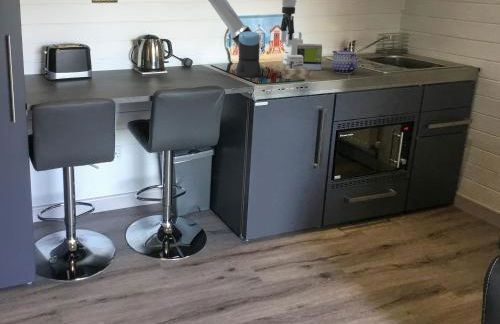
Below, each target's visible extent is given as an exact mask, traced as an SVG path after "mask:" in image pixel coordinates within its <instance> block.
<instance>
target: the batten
mask: <svg viewBox="0 0 500 324" xmlns="http://www.w3.org/2000/svg"><path fill="white" fill-rule="evenodd" d="M281 75H282V79H283V78H284V79H283V80H290V79H291V80H292V79H294V80H295V79H296V80H298V79H300V80H301V79H306V80H307V79H310V77H311V70H310V69H286V68H282V74H281Z"/></svg>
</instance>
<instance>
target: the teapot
mask: <svg viewBox="0 0 500 324" xmlns="http://www.w3.org/2000/svg"><path fill="white" fill-rule="evenodd" d="M332 53H333V56H332V58H331V67H332V68H331V69H332V70H333V71H334V73H336V74H340V75H350V74H353V73H354V72H355V70H356V69H358V66H359V57H358V55H357V54H356V53H355V51H352V50H349V47H347V46H346V47H344V46H343V49H342V50H332Z"/></svg>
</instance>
